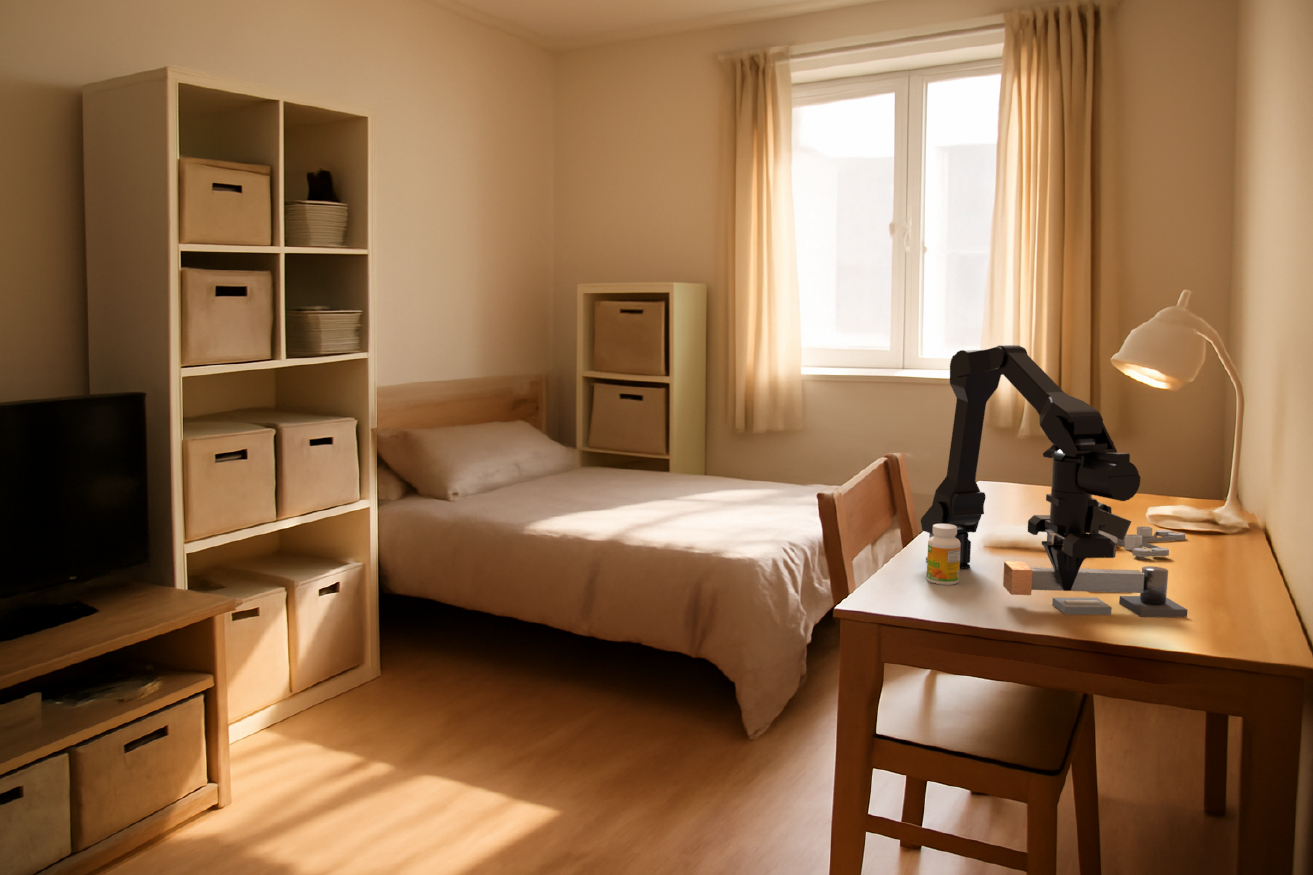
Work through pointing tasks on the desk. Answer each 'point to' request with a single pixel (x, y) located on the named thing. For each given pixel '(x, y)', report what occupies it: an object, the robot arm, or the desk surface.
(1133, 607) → the pivot base
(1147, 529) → the pulley system
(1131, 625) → the desk surface
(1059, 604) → the label tile
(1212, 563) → the desk surface
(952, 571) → the supplement bottle
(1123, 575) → the swing arm
